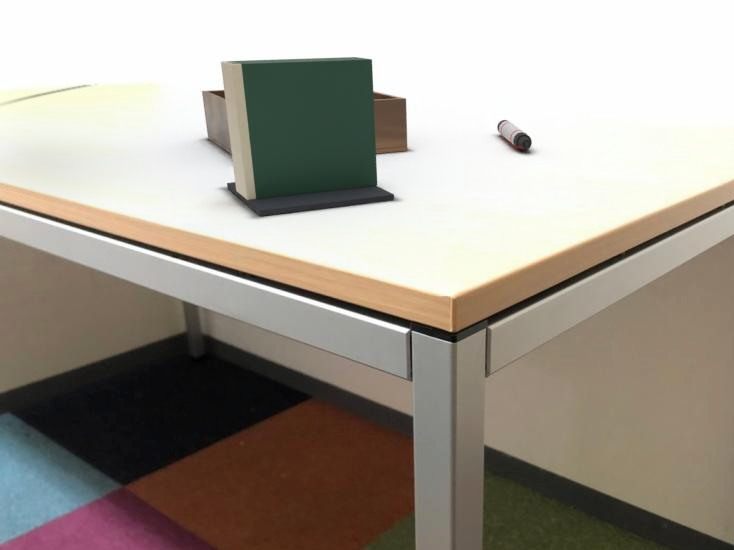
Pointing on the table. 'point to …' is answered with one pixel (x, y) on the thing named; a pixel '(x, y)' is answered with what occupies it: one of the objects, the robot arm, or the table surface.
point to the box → (386, 115)
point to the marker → (514, 135)
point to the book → (300, 125)
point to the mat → (314, 199)
